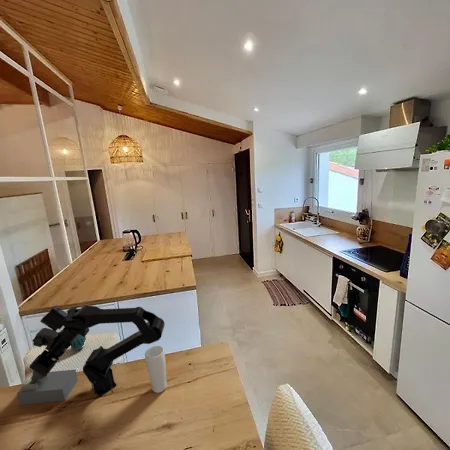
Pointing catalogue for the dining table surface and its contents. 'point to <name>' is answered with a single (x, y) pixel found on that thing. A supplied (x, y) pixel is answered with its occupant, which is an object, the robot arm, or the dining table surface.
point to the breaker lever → (35, 377)
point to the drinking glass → (156, 368)
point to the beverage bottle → (80, 339)
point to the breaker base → (48, 388)
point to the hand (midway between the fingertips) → (42, 365)
